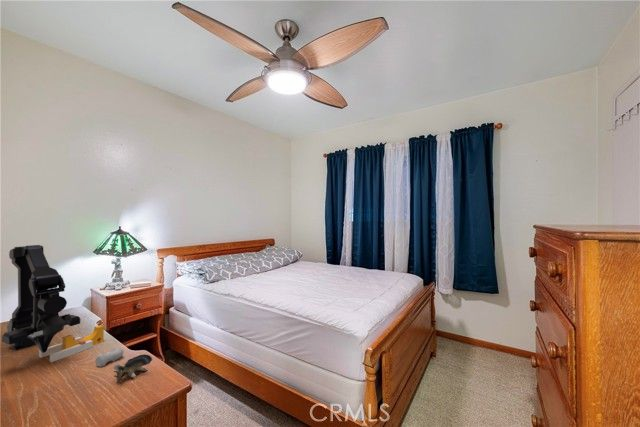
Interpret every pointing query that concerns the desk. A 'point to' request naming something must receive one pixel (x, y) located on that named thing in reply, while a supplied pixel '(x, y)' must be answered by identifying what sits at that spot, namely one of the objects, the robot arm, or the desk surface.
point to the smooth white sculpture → (108, 357)
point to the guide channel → (58, 353)
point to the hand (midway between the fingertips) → (43, 352)
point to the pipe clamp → (95, 337)
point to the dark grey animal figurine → (132, 366)
